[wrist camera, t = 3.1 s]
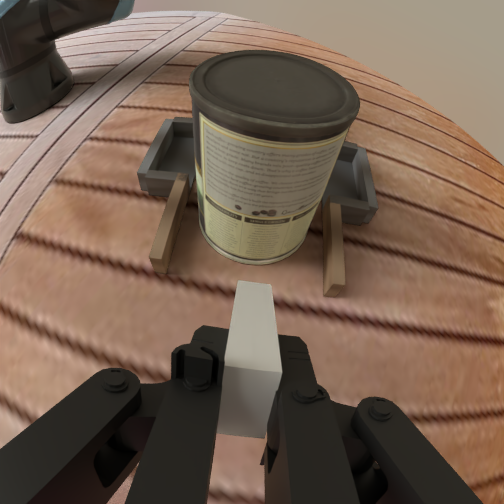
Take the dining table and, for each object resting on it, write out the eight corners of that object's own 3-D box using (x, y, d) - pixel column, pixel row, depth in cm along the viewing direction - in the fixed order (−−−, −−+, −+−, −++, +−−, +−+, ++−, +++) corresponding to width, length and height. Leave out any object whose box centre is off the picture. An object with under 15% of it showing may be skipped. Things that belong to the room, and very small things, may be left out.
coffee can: (179, 200, 28) (164, 64, 16) (268, 165, 31) (290, 44, 19) (234, 287, 24) (249, 147, 12) (329, 235, 27) (392, 110, 15)
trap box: (376, 302, 24) (398, 282, 21) (112, 264, 24) (97, 239, 20) (347, 117, 39) (355, 95, 35) (190, 93, 38) (189, 70, 35)
